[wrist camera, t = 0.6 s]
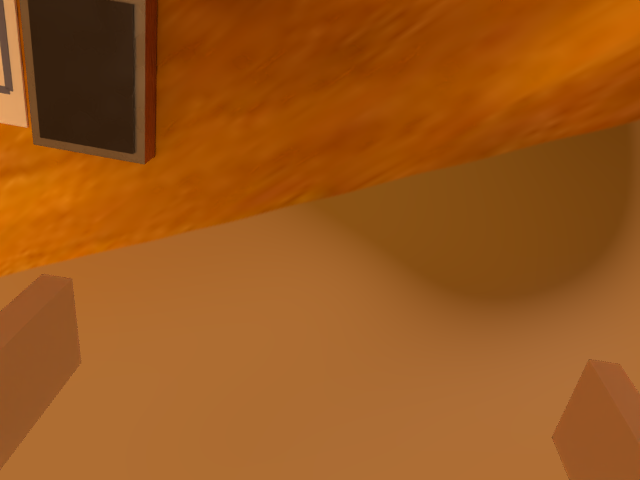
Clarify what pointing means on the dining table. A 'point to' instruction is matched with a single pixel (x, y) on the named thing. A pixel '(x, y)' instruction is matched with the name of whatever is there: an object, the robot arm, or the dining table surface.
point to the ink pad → (92, 75)
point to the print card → (11, 68)
